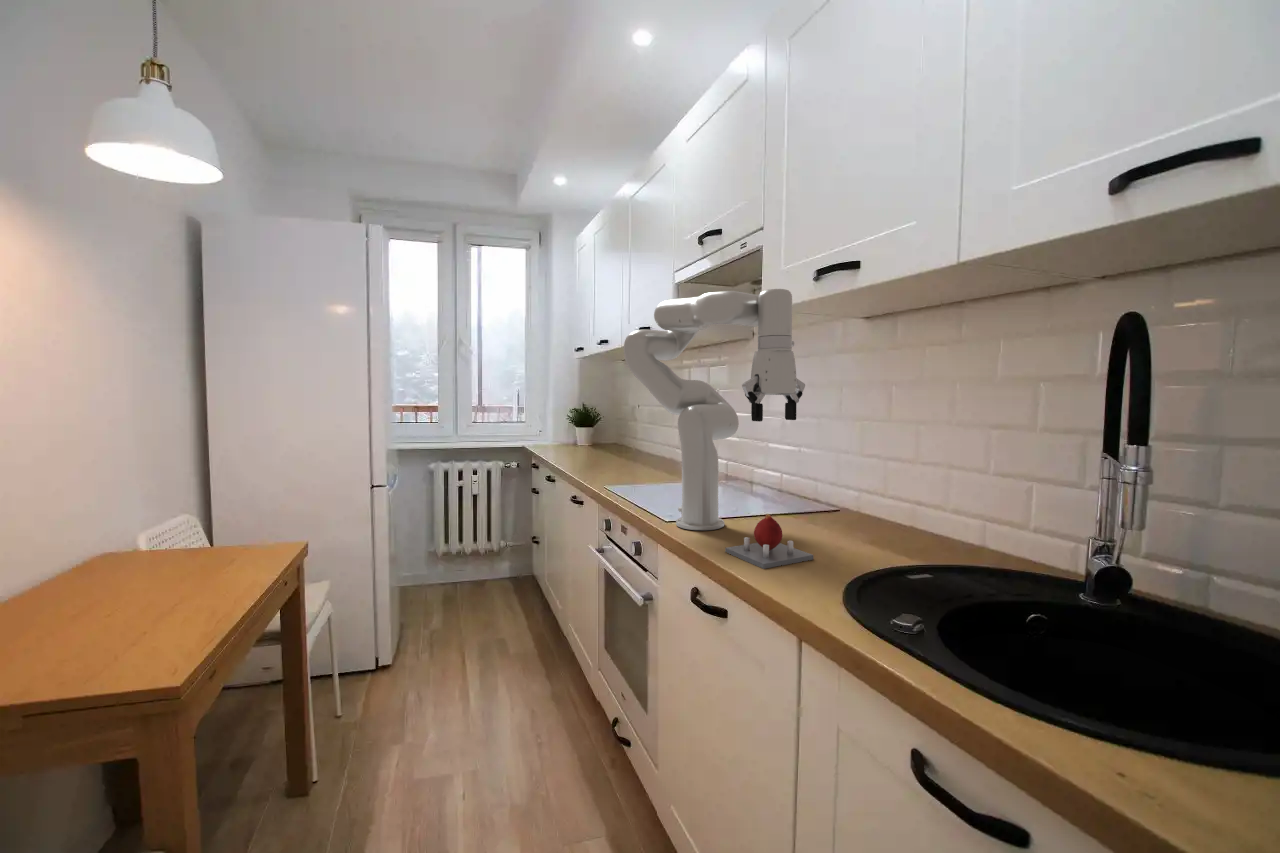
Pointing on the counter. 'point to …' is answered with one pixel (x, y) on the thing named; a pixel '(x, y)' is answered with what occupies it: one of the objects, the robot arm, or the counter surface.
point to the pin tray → (768, 554)
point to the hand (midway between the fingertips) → (774, 420)
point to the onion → (768, 532)
